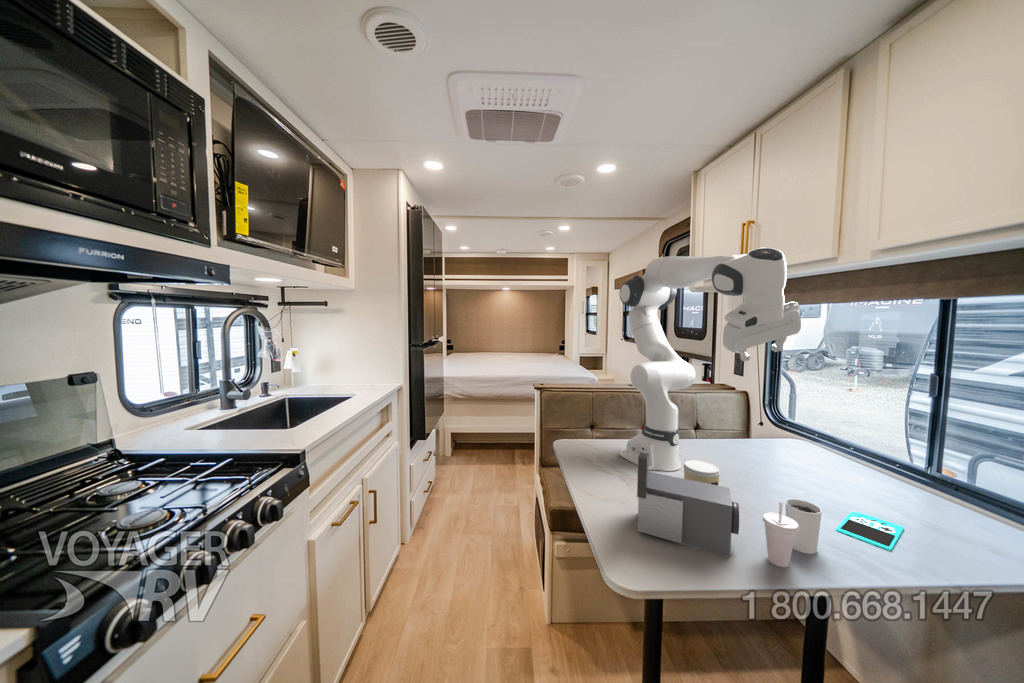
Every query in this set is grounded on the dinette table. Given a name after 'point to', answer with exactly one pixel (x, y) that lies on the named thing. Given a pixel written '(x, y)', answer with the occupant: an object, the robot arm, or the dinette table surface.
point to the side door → (657, 508)
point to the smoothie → (779, 537)
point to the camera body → (701, 511)
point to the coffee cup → (701, 472)
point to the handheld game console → (871, 530)
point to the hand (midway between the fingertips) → (760, 355)
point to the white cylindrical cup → (805, 524)
